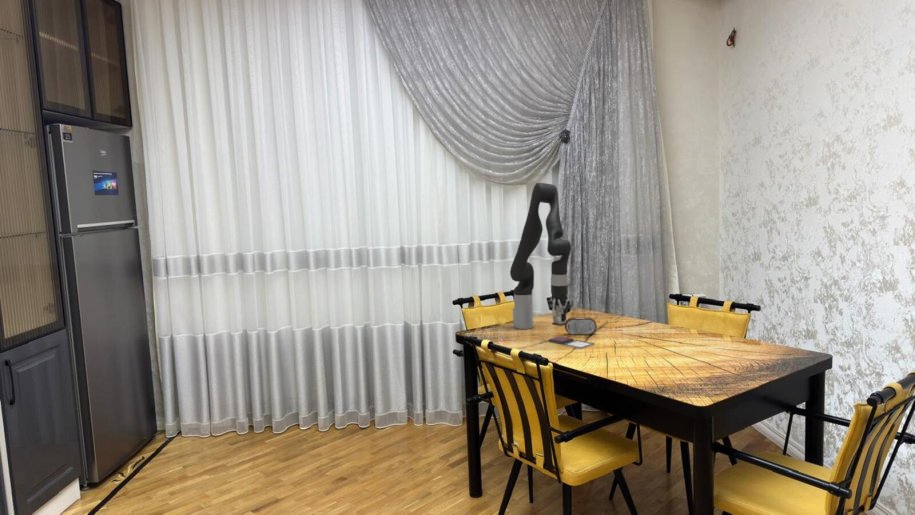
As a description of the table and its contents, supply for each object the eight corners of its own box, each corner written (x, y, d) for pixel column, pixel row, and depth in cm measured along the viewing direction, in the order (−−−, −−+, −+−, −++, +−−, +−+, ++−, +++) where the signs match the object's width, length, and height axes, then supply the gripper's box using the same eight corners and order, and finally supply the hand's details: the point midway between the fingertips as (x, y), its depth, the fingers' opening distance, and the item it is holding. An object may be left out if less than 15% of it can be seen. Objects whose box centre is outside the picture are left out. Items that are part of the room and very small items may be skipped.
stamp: (552, 324, 277) (552, 304, 276) (558, 322, 280) (558, 303, 279) (560, 326, 274) (560, 306, 273) (566, 324, 277) (566, 304, 276)
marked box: (562, 345, 271) (562, 344, 271) (576, 340, 278) (576, 339, 277) (581, 349, 263) (581, 348, 263) (594, 344, 270) (594, 343, 270)
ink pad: (548, 341, 278) (548, 338, 278) (559, 338, 284) (559, 335, 283) (562, 344, 272) (562, 341, 272) (573, 341, 278) (573, 338, 277)
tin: (596, 333, 290) (596, 316, 289) (597, 335, 287) (596, 317, 286) (564, 334, 292) (564, 316, 291) (565, 335, 288) (564, 318, 287)
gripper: (541, 283, 278) (542, 319, 280) (566, 286, 267) (566, 324, 269) (552, 281, 283) (552, 317, 285) (577, 284, 272) (577, 321, 274)
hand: (559, 320), depth 277 cm, fingers closed on stamp, 4 cm apart
